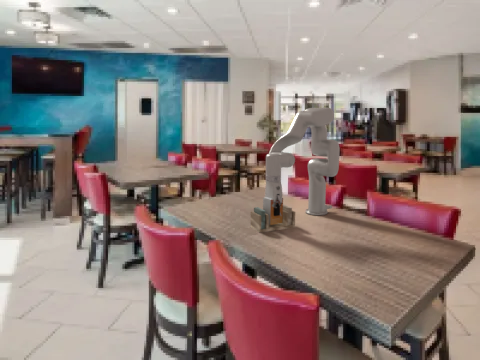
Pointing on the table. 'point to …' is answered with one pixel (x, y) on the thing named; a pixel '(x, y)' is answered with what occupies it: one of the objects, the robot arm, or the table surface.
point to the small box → (272, 211)
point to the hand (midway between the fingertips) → (273, 213)
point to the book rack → (262, 220)
